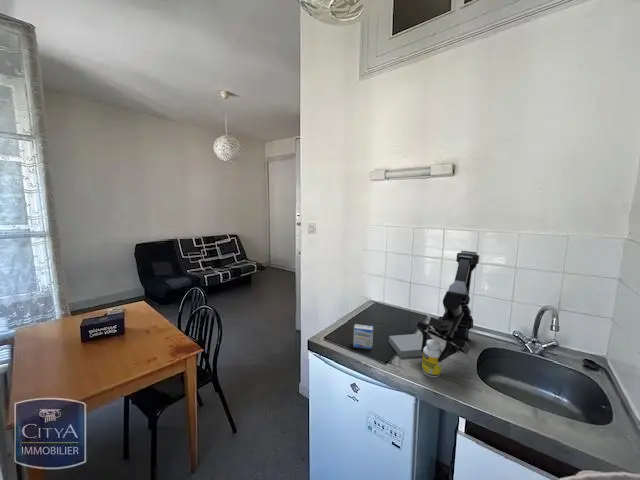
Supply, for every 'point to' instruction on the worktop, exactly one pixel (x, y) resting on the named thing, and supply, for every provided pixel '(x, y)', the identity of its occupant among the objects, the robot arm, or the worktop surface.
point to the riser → (406, 345)
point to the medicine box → (363, 336)
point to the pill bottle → (431, 358)
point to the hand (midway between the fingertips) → (430, 356)
